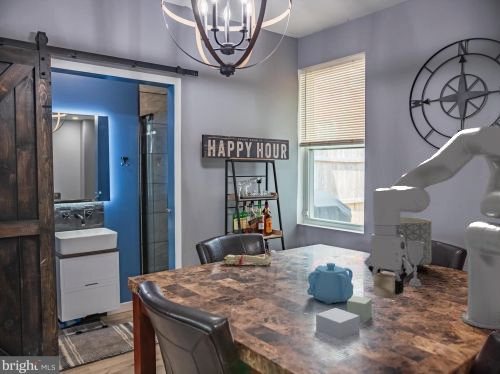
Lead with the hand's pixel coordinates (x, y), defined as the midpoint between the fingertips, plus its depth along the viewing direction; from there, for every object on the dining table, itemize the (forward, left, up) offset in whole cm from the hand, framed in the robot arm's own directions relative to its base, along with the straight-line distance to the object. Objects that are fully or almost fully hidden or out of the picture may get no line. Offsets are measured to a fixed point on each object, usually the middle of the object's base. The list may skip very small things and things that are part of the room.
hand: (388, 290), depth 117 cm
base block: (+10, +11, -13) cm, 19 cm away
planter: (+38, -78, -12) cm, 88 cm away
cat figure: (+95, -24, -13) cm, 99 cm away
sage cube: (+12, -3, -12) cm, 18 cm away
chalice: (+19, -53, -12) cm, 58 cm away
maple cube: (0, 0, -1) cm, 1 cm away
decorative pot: (+30, -11, -13) cm, 35 cm away
